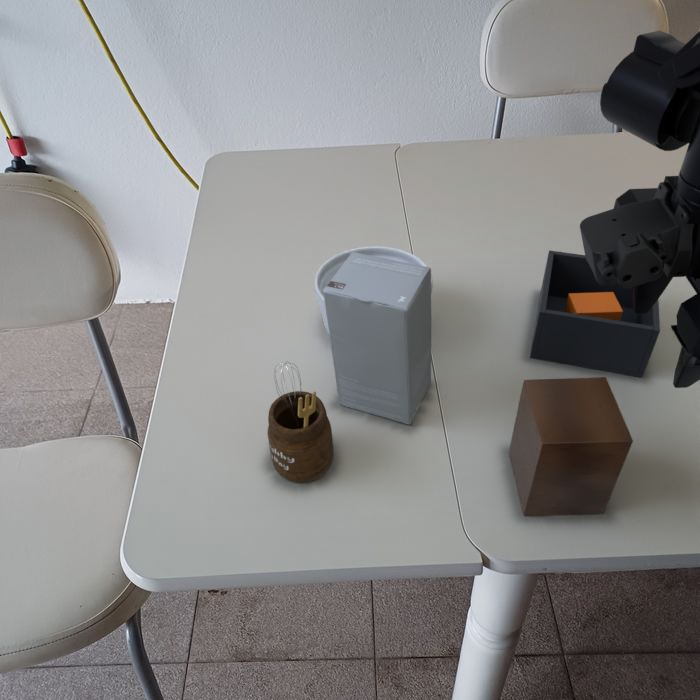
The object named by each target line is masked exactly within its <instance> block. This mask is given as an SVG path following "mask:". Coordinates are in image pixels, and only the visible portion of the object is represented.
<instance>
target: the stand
mask: <svg viewBox="0 0 700 700" xmlns="http://www.w3.org/2000/svg"><path fill="white" fill-rule="evenodd" d="M512 430H513V431H512V433H511V439H510V444H509V445H510V446H509V449H508V456H509V460H510V465H511V469H512V472H513V473H512V474H513V477H514V481H515V486H516V490H517V494H518V498H519V502H520V507H521V510H522V516H524V517H537V516H539V517H540V516H541V517H542V516H570V515H571V516H572V515H576V516H577V515H604V514H605V511H606V508H607V506H608V505H609V501H610V499H611V496H612V494H613V491H614V489H615V487H616V484H617V482H618V479H619V477H620V474H621V472H622V469H623V467H624V466H625V465H624V464H625V462H626V459H627V457H628V454H629V452H630V449H631V447H632V444H633V442H634V439H633V436H632V434H631V433H630V430H629V428H628V426H627V423H626V420H625V418H624V416H623V414H622V411H621V409H620V406H619V404H618V402H617V400H616V398H615V395H614V393H613V391H612V388H611V385H610V384H609V381H608V379H607V377H606V376H602V377H601V376H600V377H598V376H597V377H596V376H595V377H569V378H567V377H566V378H540V379H539V378H538V379H523V382H522V387H521V392H520V396H519V402H518V406H517V411H516V415H515V420H514V425H513V429H512Z"/></svg>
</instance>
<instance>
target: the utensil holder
mask: <svg viewBox="0 0 700 700" xmlns="http://www.w3.org/2000/svg"><path fill="white" fill-rule="evenodd" d="M292 365H294V367H296V369H297V370H296V369H294V371H295V372H296V374H297V377H298V381H299V386H300V388H299V390H297V391H296V384H295V381H292V378H293V380H295V377H294V372H293V366H292ZM284 366H285V368H286V369H287V373H288V375H289V378H290V381H291V387H292V390H293V391H288V388H287V383H286V381H285V376H284V372H283V368H284ZM287 366H289V367H290V369H291V373H292V376H291V374H290V371H289V369H288V367H287ZM274 367H275V368H274V370H275V371H274V376H273V379H274V380H275V381H274V384H275V388H276V392H277V395H278V397H277V398H276V399H275V400H274V401H273V402H272V404H271V405H270V407H269V410H268V417H267V419H268V421H267V422H268V426H267V441H268V448H269V453H270V458H271V461H272V465H273V467H274V469H275V471H276V472H277V473H278V475H280V476H281V477H282V478H284V479H285V480H286V481H290V482H294V483H309V482H312V481H315V480H317V479H319V478H320V477H322V476H324V475H325V474H326V473H327V472H328V470H329V469H330V468H331V465H332V464H333V459H334V441H333V431H332V426H331V422H330V419H329V417H328V415H327V414H328V413H327V409H326V407H325V404H324V403H323V401H322V400H321V398H320V397H318V396H317V392H316V391H313V392H312V393H311V392H308V391H303V390H302V380H301V379H302V378H301V375H300V370H299V368H298V366H297V365H296V364H295V363H292V362H289V361H285V362H283V361H282V362H280V363H279V364H277V365H276V366H274ZM279 368H280V369H281V370H280V374H281V375H282V377H283V380H282V379H280V382H281V387H282V392H283V393H282V392H281V390H280V388H279V384H278V380H276V379H277V376H276V373H277V370H279ZM283 382H284V385H285V389H286V393H285V391H284V386H283Z"/></svg>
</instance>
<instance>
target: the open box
mask: <svg viewBox="0 0 700 700" xmlns="http://www.w3.org/2000/svg"><path fill="white" fill-rule="evenodd" d="M540 288H541V289H540V292H539V298H538V303H537V304H538V305H537V310H536V317H535V324H534V329H533V336H532V340H531V341H532V342H531V349H530V354H529V358H530V359H535V360H541V361H545V362H552V363H557V364H563V365H569V366H575V367H579V368H585V369H591V370H595V371H597V370H598V371H602V372H608V373H612V374H613V373H614V374H620V375H625V376H631V377H637V378H643V377H644V374H645V372H646V369H647V367H648V364H649V361H650V359H651V357H652V353H653V351H654V348H655V345H656V343H657V340H658V338H659V335H660V333H661V322H660V320H661V319H660V305H659V304H660V303H659V299H658V300H657V302H656V303H655V304H654V305H653V307H652V308H651V309H650V310H649V311H648V313H646V314H636V313H635V311H634V294H633V287H630V288H623V287H621V286H620V285H619V283H618V284H615V285H610V286H606V285H601V284H599V283H598V282H597V281H596V279H595V276H594V273H593V271H592V269H591V267H590V265H589V263H588V262H587V260H586V257H585V254H579V253H572V252H565V251H564V252H563V251H556V250H548V253H547V259H546V263H545V268H544V273H543V278H542V283H541V287H540ZM597 292H614V294H615V296H616V298H617V300H618V302H619V304H620V306H621V308H622V310H623V314H622V317H621V320H620V321H617V320H610V319H604V318H598V317H591V316H585V315H579V314H572V313H566V312H564V311H565V307H566V303H567V298H568V294H569V293H597Z"/></svg>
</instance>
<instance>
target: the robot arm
mask: <svg viewBox="0 0 700 700" xmlns="http://www.w3.org/2000/svg"><path fill="white" fill-rule="evenodd" d="M599 99H600V100H599V106H600V112H601V114H602V116H603V118H604V119H605V120H606V121H607V122H609V123H611V124H613V125H615V126H617V127H619V128H620V129H622V130H624V131H626V132H628V133H630V134H631V135H633V136H635V137H637V138H639V139H640V140H642V141H643V142H646V143H648V144H650V145H651V146H653V147H655V148H657V149H659V150H661V151H664V152H672V151H676V150H679V149H681V148H682V147H685V146H687V145H688V146H687V149H686V152H685V154H684V158H683V161H682V164H681V167H680V169H679V173H678V175H665V177H664V179H663V181H661V182H659V184H658V186H657V187H645V188H644V187H643V188H629V189H628V190H626V191H625V192H623V193H622V194H620V195H619V196H618V197H616V198H615V201H614V205H613V208H612V209H611V208H610V209H608V210H605V211H602V212H599V213H596V214H593V215H590V216H587V217H585V218H584V219H583V220H581V222H580V224H579V230H580V234H581V235H580V236H581V240H582V241H581V242H582V246H583V247H582V248H583V252H584V255H585V257H586V260H587V262H588V263H589V265H590V267H591V269H592V271H593V273H594V276H595V279H596V281H597V282H598V283H599V284H601V285H606V286H610V285H615V284H618V283H619V285H620V286H621V287H623V288H630V287H633V294H634V311H635V313H636V314H646V313H648V311H649V310H650V309H651V308H652V307H653V305H654V304H655V303H656V302H657V300H658V301H659V300H660V298H661V296H662V295H663V293H664V292H665V290H666V289H667V287H668V286H669V285H670V283H671V281H672V280H673V278H684V277H685V278H686V280H687V282H688V283H689V284H690V286H691V288H693V290H694V292H695V294H694V295H693V296H690V297H689V298H687V299H686V300H684V301H683V302H681V303H680V305H679V308H678V310H677V313H676V324H671V325H670V329H671V330H672V331H673V334H674V335H675V337H676V338H677V339H676V340H678V342H679V344H680V346H681V349H680V352H679V355H678V359H677V363H676V366H675V370H674V374H673V379H672V385H673V387H674V388H675V389H686V388H689V387H691V386H692V385H694V384H696V383H697V382H699V381H700V30H699V31H698V32H697V33H696V34H695V35H694V36H693V37H692V38H691V39H689V41H687V42H683V41H680V40H678V39H677V38H676V37H675V36H674V35H673V34H670V33H668V32H665V31H663V30H657V31H656V30H655V31H650V32H645V33H641V34H638V35H637V36H636V39H635V43H634V46H633V51H631V52H630V53H629V54H628V55H626V56H624V58H623V59H622V60H621V61H620V62H619V63H618V64H617V65H616V67H615V68H614V69H613V71H612V73H611V74H610V76H609V77H608V80H607V82H605V83H604V84H603V86H602V88H601V93H600V98H599Z"/></svg>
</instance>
